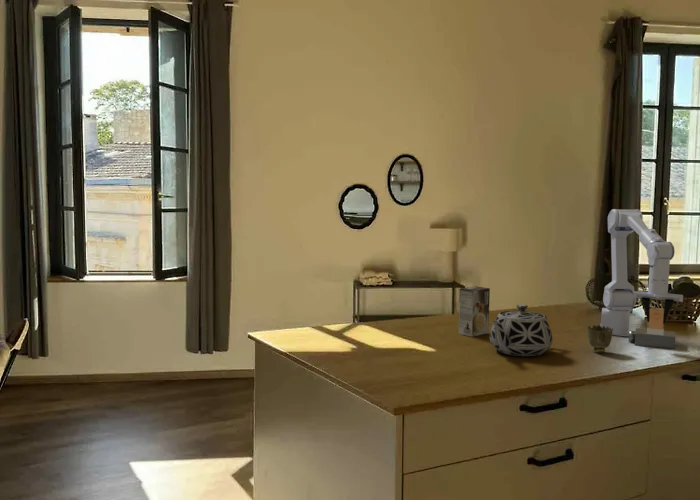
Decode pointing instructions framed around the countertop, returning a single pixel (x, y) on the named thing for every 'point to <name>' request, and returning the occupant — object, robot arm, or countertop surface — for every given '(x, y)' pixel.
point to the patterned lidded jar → (521, 333)
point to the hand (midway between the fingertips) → (656, 322)
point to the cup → (599, 337)
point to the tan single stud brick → (656, 318)
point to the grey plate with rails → (653, 338)
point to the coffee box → (474, 311)
